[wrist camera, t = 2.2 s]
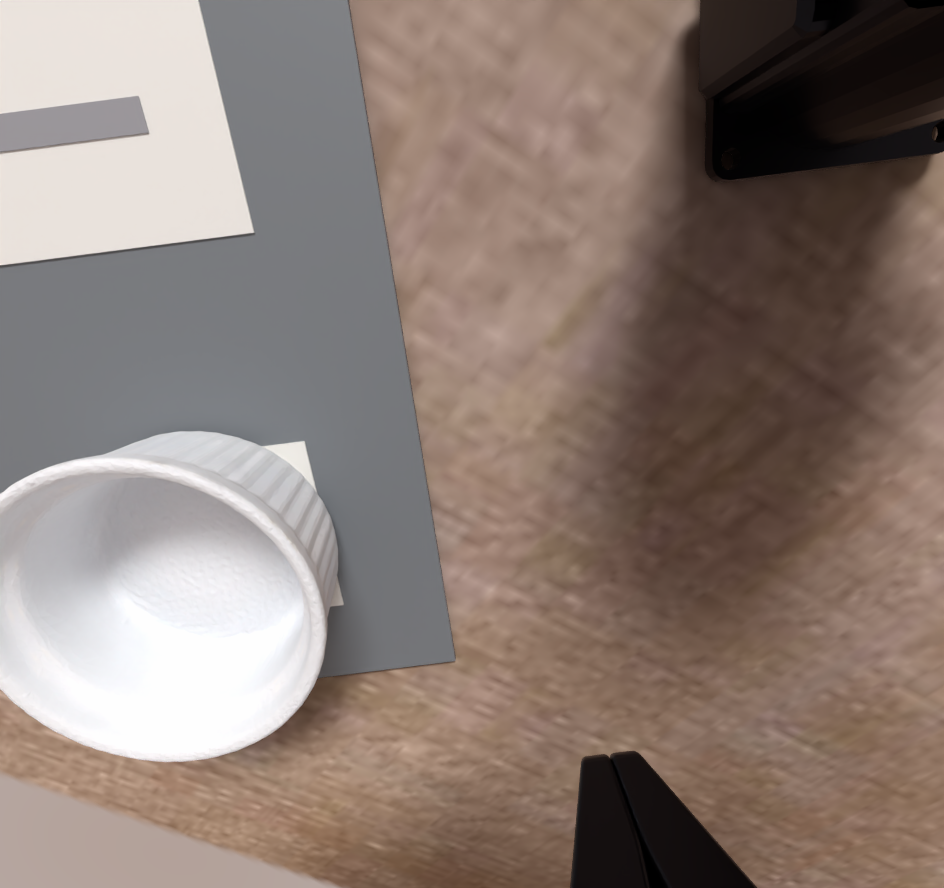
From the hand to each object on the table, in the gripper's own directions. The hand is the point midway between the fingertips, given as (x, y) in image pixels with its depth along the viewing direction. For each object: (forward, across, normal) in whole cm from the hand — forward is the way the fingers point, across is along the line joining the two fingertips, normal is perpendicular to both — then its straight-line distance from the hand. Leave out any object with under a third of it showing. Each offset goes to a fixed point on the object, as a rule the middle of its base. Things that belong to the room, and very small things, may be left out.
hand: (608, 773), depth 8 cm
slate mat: (+10, +10, -6) cm, 15 cm away
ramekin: (+10, +10, 0) cm, 14 cm away
